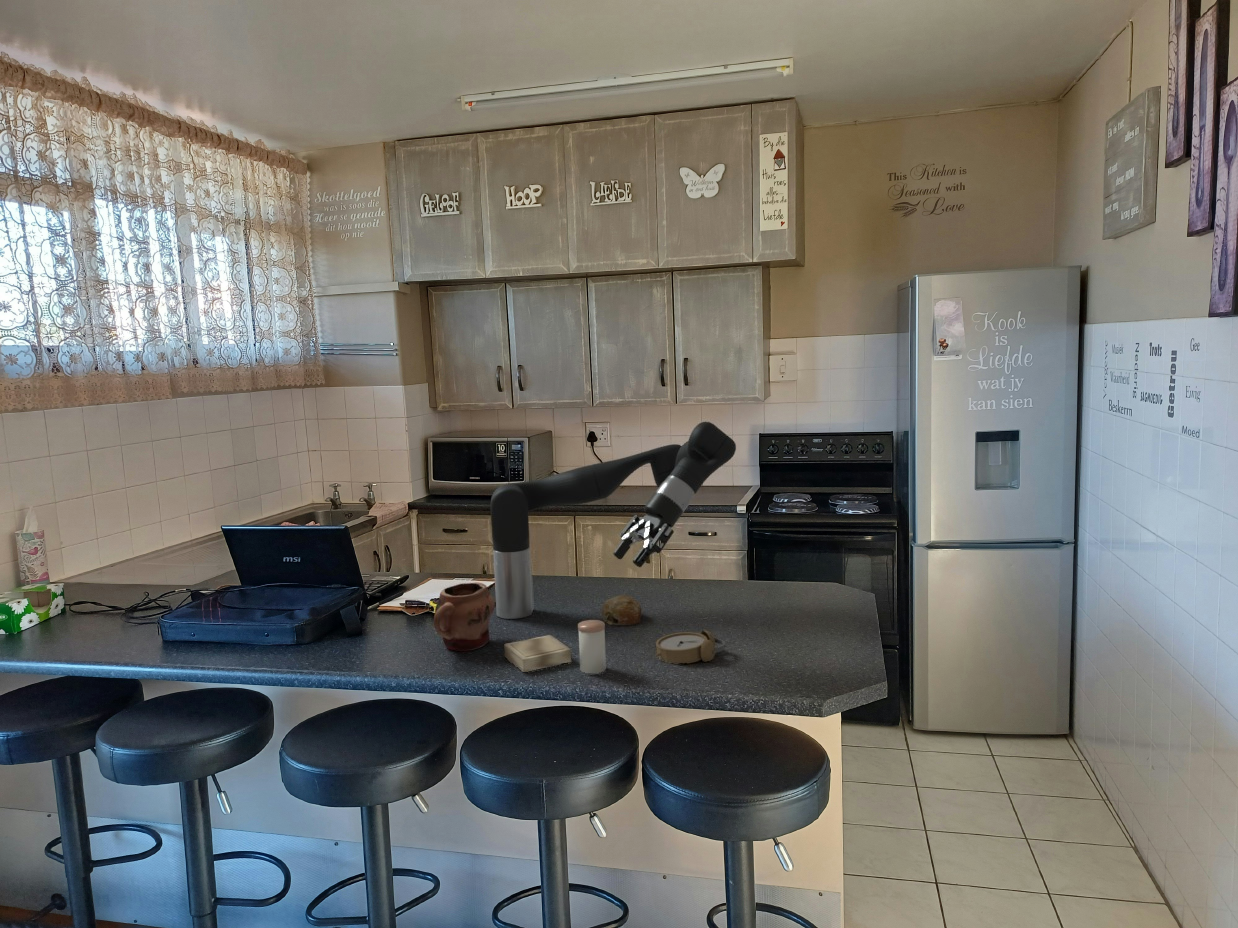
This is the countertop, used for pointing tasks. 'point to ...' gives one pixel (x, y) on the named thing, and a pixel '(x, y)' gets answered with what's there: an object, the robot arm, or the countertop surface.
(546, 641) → the plinth
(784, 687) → the countertop surface
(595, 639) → the canister
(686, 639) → the alarm clock
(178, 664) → the countertop surface
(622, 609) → the bread roll
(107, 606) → the countertop surface
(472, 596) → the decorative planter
